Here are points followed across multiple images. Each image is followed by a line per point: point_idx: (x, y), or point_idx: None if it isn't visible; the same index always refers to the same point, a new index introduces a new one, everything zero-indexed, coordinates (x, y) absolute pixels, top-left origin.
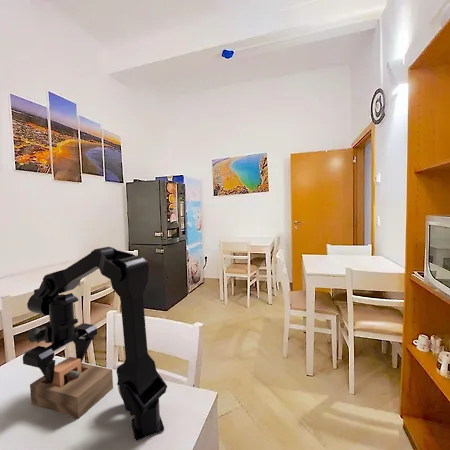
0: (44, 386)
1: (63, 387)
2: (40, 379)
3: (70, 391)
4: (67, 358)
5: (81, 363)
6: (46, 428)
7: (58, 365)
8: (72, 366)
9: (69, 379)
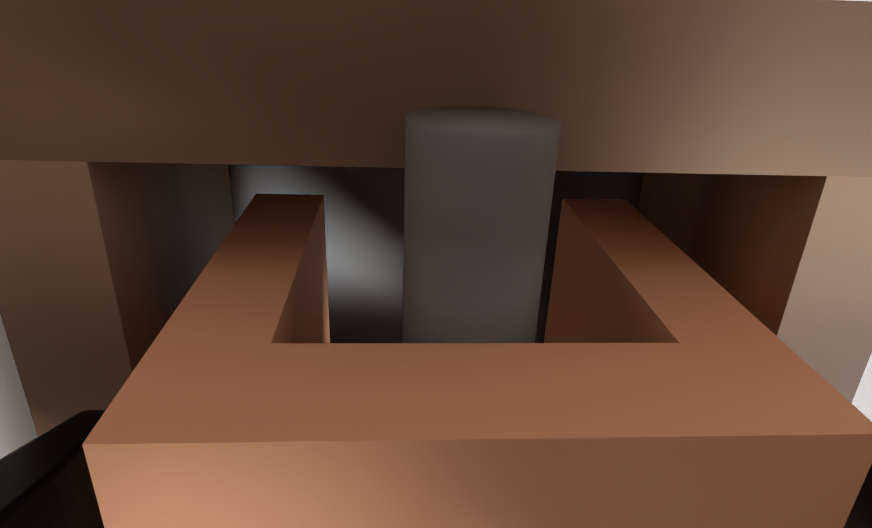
0: (55, 338)
1: None
2: (144, 47)
3: None
4: (772, 455)
5: (844, 381)
6: (19, 447)
7: (376, 520)
8: None
9: (564, 250)
